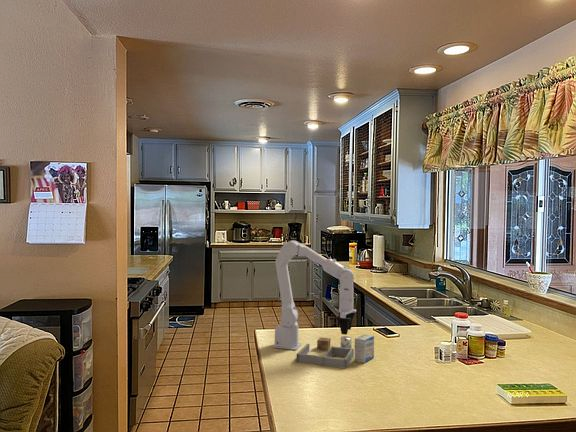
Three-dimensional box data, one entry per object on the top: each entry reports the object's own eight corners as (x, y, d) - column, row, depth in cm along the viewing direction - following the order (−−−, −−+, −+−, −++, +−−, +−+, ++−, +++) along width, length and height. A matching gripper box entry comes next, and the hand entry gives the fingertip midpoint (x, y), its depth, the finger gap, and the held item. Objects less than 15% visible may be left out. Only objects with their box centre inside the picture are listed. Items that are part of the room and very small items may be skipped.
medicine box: (364, 363, 170) (364, 340, 170) (354, 360, 173) (354, 338, 173) (374, 358, 176) (374, 335, 176) (363, 355, 179) (364, 333, 179)
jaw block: (317, 349, 186) (317, 340, 186) (319, 346, 190) (320, 337, 190) (327, 351, 185) (327, 341, 185) (330, 347, 189) (330, 338, 189)
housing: (296, 362, 171) (296, 354, 171) (307, 351, 184) (307, 343, 184) (346, 368, 165) (346, 360, 165) (353, 356, 178) (353, 348, 178)
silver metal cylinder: (339, 350, 185) (339, 338, 185) (341, 347, 189) (341, 335, 189) (350, 352, 183) (350, 339, 183) (352, 348, 188) (352, 336, 187)
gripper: (352, 302, 178) (352, 337, 178) (359, 296, 191) (359, 328, 192) (335, 301, 180) (334, 335, 180) (342, 294, 194) (342, 326, 194)
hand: (346, 331), depth 186 cm, fingers open, 7 cm apart
